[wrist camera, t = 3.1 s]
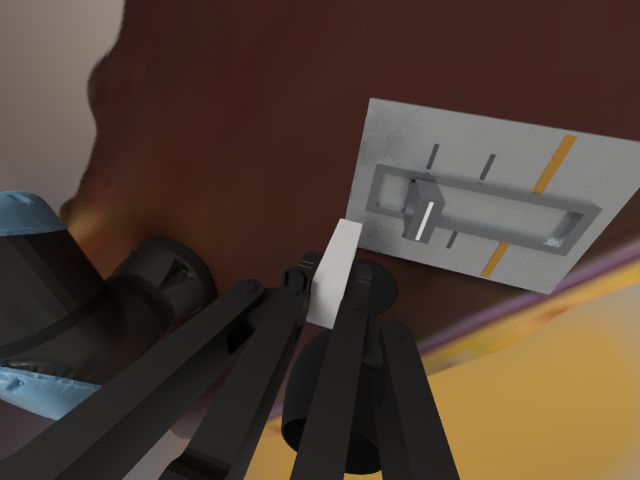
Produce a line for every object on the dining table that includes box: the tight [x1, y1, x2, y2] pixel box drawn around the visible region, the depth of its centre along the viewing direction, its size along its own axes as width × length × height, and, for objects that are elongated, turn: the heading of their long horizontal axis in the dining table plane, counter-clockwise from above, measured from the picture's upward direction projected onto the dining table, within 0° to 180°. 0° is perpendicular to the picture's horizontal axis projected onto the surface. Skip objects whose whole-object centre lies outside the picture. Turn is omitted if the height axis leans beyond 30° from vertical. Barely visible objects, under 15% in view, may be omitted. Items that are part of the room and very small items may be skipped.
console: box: [345, 97, 640, 295], centre depth 27 cm, size 24×16×3 cm, turn 82°
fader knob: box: [403, 179, 446, 244], centre depth 24 cm, size 2×4×6 cm, turn 172°
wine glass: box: [281, 259, 397, 475], centre depth 29 cm, size 10×10×20 cm
